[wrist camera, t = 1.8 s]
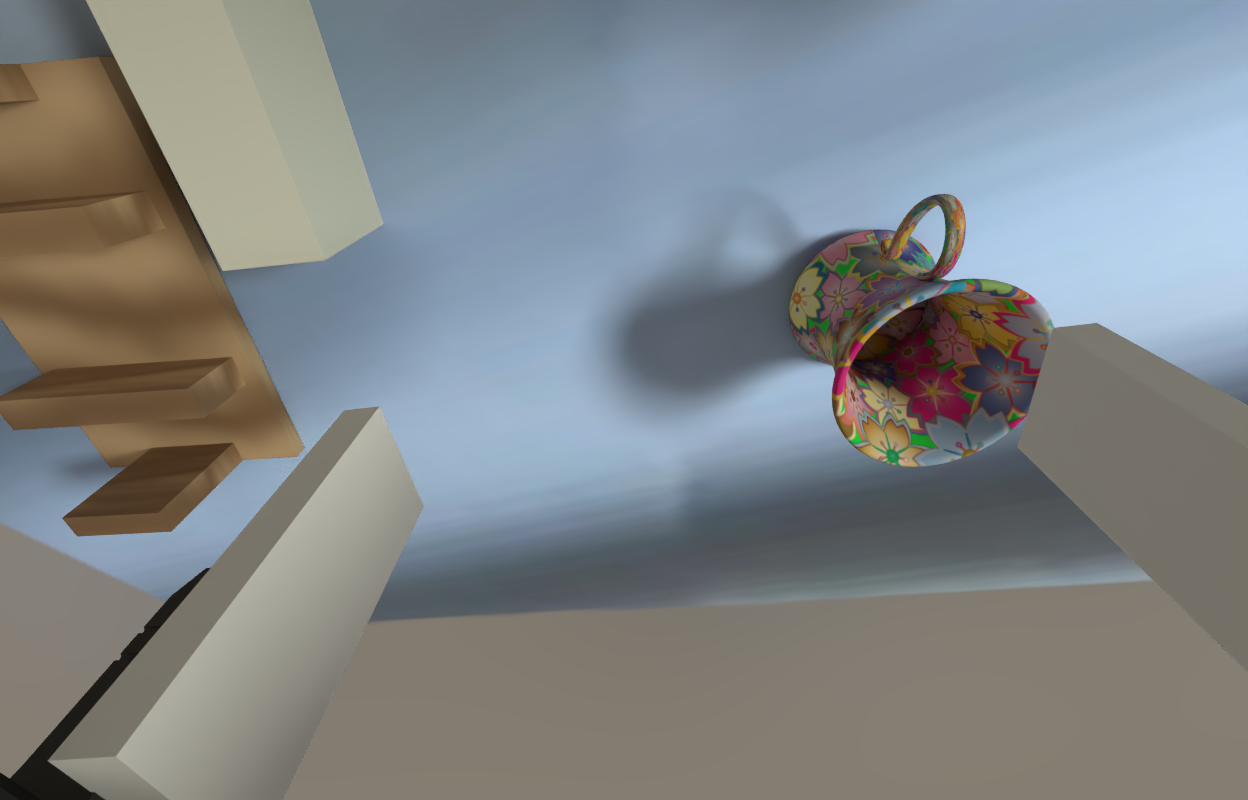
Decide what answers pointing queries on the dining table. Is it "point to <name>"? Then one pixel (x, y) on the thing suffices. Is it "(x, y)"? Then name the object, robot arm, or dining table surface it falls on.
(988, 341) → the mug
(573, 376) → the dining table surface
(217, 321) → the rack
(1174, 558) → the robot arm
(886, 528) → the dining table surface
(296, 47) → the block
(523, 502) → the dining table surface
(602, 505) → the dining table surface
